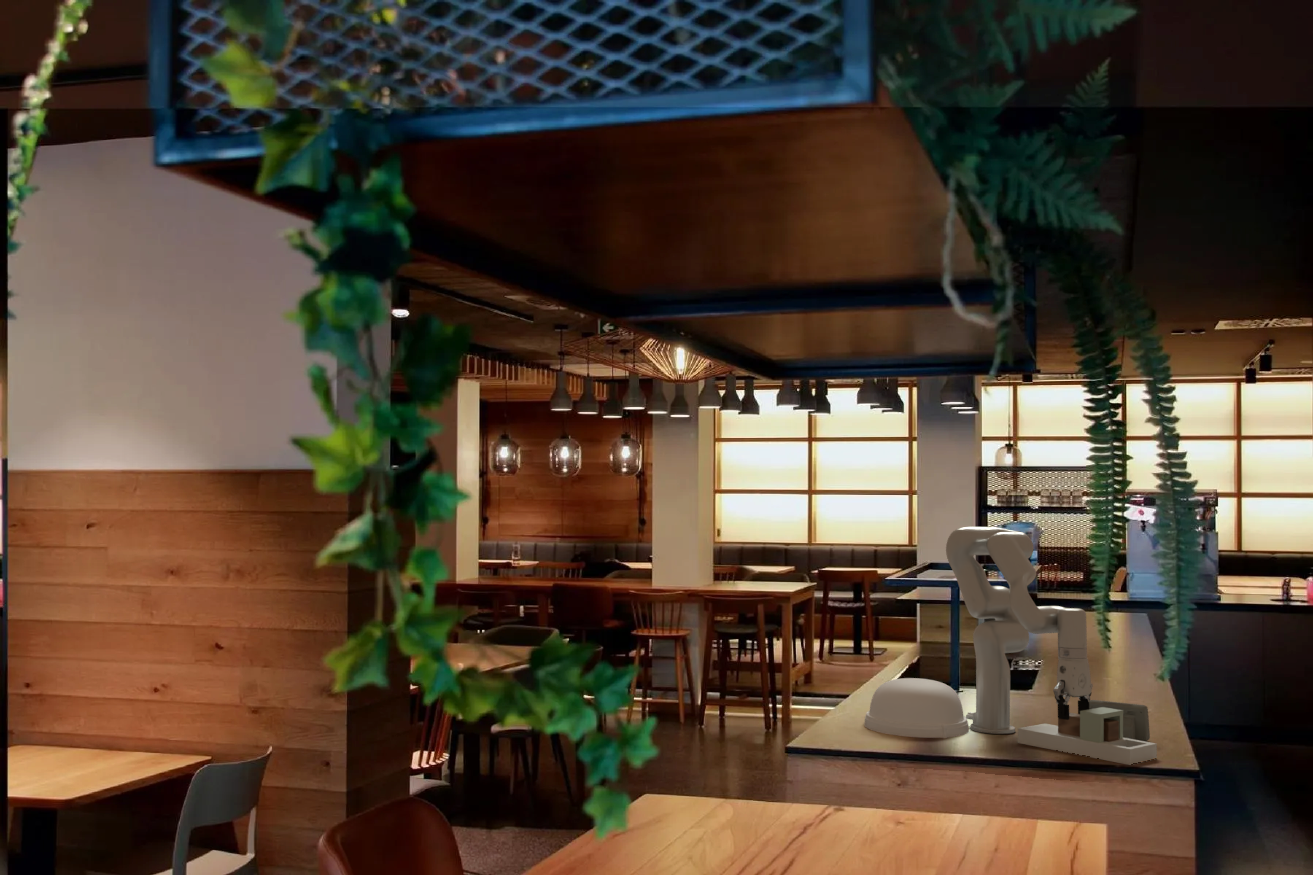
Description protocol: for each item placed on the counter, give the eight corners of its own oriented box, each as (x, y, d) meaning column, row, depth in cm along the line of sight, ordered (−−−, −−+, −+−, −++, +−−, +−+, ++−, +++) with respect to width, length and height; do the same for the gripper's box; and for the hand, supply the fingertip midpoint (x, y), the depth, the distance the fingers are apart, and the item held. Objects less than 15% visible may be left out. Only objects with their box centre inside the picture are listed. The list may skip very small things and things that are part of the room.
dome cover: (844, 720, 373) (844, 673, 374) (930, 716, 383) (931, 670, 384) (899, 741, 343) (900, 690, 343) (991, 736, 353) (992, 686, 353)
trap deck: (1017, 742, 343) (1017, 728, 343) (1044, 737, 351) (1044, 723, 351) (1130, 764, 317) (1130, 749, 317) (1156, 758, 325) (1156, 743, 325)
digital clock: (1153, 741, 349) (1153, 703, 349) (1140, 745, 342) (1140, 707, 343) (1097, 733, 360) (1097, 696, 360) (1083, 737, 353) (1083, 699, 354)
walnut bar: (1058, 732, 338) (1058, 713, 338) (1068, 730, 341) (1068, 712, 341) (1108, 741, 326) (1108, 722, 326) (1118, 739, 329) (1118, 720, 330)
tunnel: (1079, 738, 329) (1080, 710, 330) (1102, 734, 336) (1102, 706, 337) (1100, 742, 325) (1100, 714, 325) (1122, 738, 332) (1123, 710, 332)
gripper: (1066, 657, 330) (1068, 722, 329) (1102, 652, 341) (1103, 716, 340) (1042, 654, 336) (1043, 718, 334) (1077, 650, 346) (1079, 712, 345)
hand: (1073, 717), depth 337 cm, fingers open, 9 cm apart
